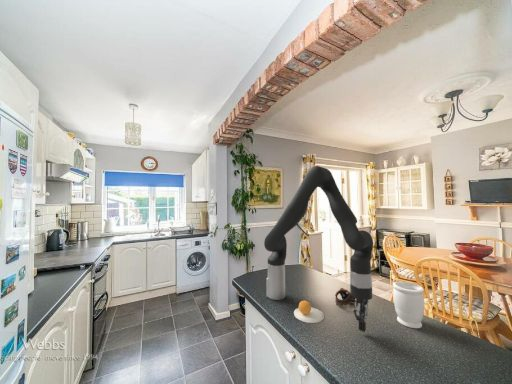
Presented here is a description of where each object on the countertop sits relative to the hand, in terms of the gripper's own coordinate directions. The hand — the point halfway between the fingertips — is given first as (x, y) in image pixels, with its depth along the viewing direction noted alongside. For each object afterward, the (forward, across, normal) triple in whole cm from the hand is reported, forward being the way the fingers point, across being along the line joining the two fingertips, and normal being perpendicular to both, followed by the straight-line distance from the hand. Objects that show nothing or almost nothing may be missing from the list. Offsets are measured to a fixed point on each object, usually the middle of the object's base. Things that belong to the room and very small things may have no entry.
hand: (362, 330), depth 78 cm
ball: (-1, 0, -23) cm, 23 cm away
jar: (+2, -20, +13) cm, 24 cm away
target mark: (+2, 0, -22) cm, 22 cm away
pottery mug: (+2, -20, -12) cm, 23 cm away
